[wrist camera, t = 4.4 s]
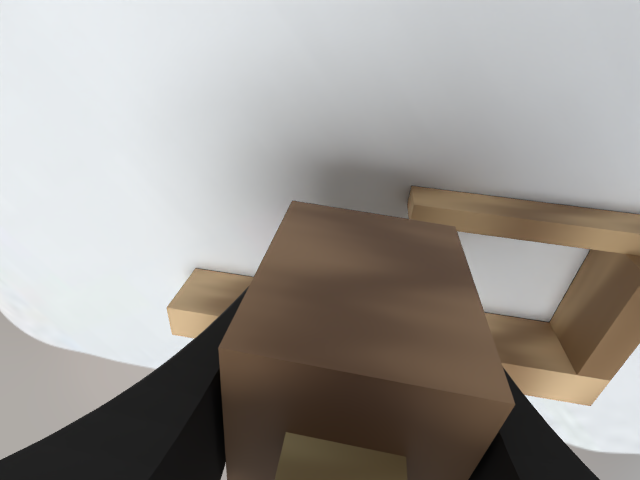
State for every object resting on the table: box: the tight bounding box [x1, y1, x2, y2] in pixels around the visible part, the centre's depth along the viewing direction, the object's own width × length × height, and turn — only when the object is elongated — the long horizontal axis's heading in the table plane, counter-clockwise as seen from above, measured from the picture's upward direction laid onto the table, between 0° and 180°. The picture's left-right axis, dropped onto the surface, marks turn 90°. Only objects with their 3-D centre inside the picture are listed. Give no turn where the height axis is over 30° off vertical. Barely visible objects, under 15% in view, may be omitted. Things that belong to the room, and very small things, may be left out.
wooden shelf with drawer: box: [167, 186, 640, 406], centre depth 18 cm, size 22×9×4 cm, turn 86°
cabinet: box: [218, 201, 515, 480], centre depth 10 cm, size 5×5×7 cm
